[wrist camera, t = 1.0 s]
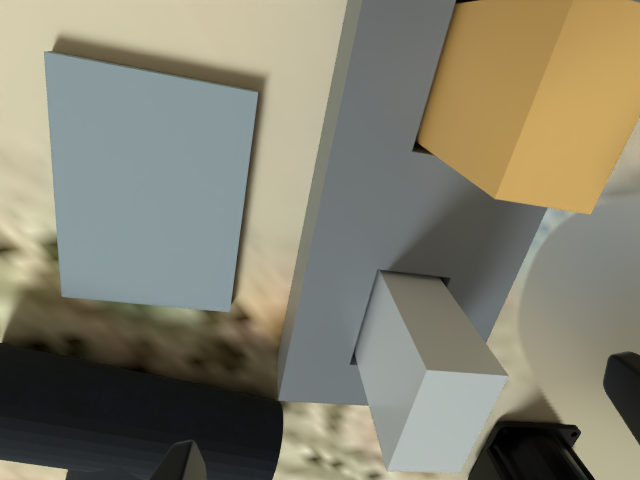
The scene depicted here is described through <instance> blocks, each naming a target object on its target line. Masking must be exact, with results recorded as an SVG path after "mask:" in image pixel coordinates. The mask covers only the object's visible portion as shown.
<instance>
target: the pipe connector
mask: <svg viewBox="0 0 640 480" xmlns="http://www.w3.org/2000/svg"><path fill="white" fill-rule="evenodd" d="M282 435H283V409H282V405H281V403H280V402H279V401H276V400H271V399H267V398H262V397H257V396H252V395H248V394H243V393H238V392H233V391H228V390H224V389H219V388H214V387H209V386H204V385H200V384H195V383H190V382H185V381H181V380H176V379H171V378H166V377H161V376H157V375H152V374H147V373H142V372H138V371H133V370H128V369H123V368H118V367H114V366H109V365H104V364H99V363H94V362H90V361H85V360H80V359H75V358H71V357H66V356H61V355H56V354H51V353H47V352H42V351H37V350H32V349H27V348H23V347H18V346H13V345H8V344H4V343H0V460H6V461H13V462H20V463H27V464H34V465H41V466H48V467H55V468H62V469H68V472H67V476H66V480H149V479H150V478H151V476H152V475H153V473H154V472H155V470H156V469H157V467H158V466H159V464H160V463H161V461H162V460H163V458H164V457H165V455H166V454H167V452H168V451H169V449H170V448H171V446H172V445H174V444H175V443H177V442H182V441H187V440H193V441H195V443H196V444H197V447H198V449H199V451H200V454H201V456H202V458H203V461H204V463H205V467H206V480H272V479H273V476H274V473H275V470H276V466H277V463H278V458H279V454H280V449H281V443H282Z"/></svg>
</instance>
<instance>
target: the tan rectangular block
mask: <svg viewBox="0 0 640 480" xmlns="http://www.w3.org/2000/svg"><path fill="white" fill-rule="evenodd" d="M639 117H640V3H639V2H635V1H631V0H479V1H472V2H465V3H458V4H455V6H454V9H453V13H452V16H451V19H450V23H449V26H448V30H447V33H446V36H445V40H444V43H443V47H442V50H441V54H440V57H439V60H438V64H437V67H436V71H435V74H434V78H433V81H432V84H431V88H430V91H429V95H428V98H427V102H426V105H425V108H424V112H423V115H422V119H421V122H420V125H419V129H418V132H417V136H416V139H415V141H416V142H417V143H419V144H420V145H421V146H423V147H424V148H425V149H427V150H428V151H430V152H431V153H432V154H434V155H435V156H436V157H438V158H439V159H441V160H442V161H443V162H445V163H446V164H447V165H449V166H450V167H452V168H453V169H454V170H456V171H457V172H458V173H460V174H461V175H463V176H464V177H465V178H467V179H468V180H469V181H471V182H472V183H474V184H475V185H476V186H478V187H479V188H480V189H482V190H483V191H485V192H486V193H487V194H489V195H490V196H491V197H493V198H494V199H498V200H504V201H511V202H517V203H523V204H529V205H535V206H542V207H548V208H554V209H560V210H567V211H573V212H579V213H585V214H591V212H592V210H593V208H594V206H595V204H596V202H597V200H598V199H599V197H600V195H601V193H602V191H603V189H604V187H605V185H606V183H607V181H608V179H609V177H610V175H611V173H612V171H613V169H614V167H615V165H616V163H617V161H618V159H619V157H620V155H621V153H622V151H623V149H624V147H625V145H626V143H627V141H628V139H629V137H630V135H631V133H632V131H633V129H634V127H635V125H636V123H637V121H638V119H639Z"/></svg>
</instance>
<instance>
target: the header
mask: <svg viewBox="0 0 640 480" xmlns="http://www.w3.org/2000/svg"><path fill="white" fill-rule="evenodd" d="M472 1H479V0H348V2H347V7H346V12H345V17H344V22H343V27H342V32H341V37H340V42H339V48H338V53H337V58H336V63H335V68H334V73H333V78H332V83H331V88H330V93H329V98H328V103H327V108H326V113H325V118H324V124H323V129H322V134H321V139H320V144H319V149H318V154H317V159H316V164H315V169H314V174H313V179H312V184H311V189H310V194H309V200H308V205H307V210H306V215H305V220H304V225H303V230H302V235H301V240H300V245H299V250H298V255H297V260H296V265H295V270H294V275H293V281H292V286H291V291H290V296H289V301H288V306H287V311H286V316H285V321H284V326H283V331H282V336H281V341H280V346H279V351H278V357H277V381H278V401H292V402H310V403H329V404H348V405H366V406H369V404H368V401H367V397H366V393H365V390H364V386H363V383H362V379H361V375H360V372H359V368H358V364H357V361H356V357H355V353H354V348H355V345H356V341H357V338H358V334H359V331H360V327H361V324H362V321H363V317H364V314H365V310H366V307H367V304H368V300H369V297H370V293H371V290H372V286H373V283H374V280H375V276H376V273H377V269H380V270H389V271H397V272H406V273H414V274H422V275H431V276H439V278H440V279H441V281H442V282H443V284H444V285H445V286H446V288H447V289H448V291H449V292H450V293H451V295H452V296H453V298H454V299H455V301H456V302H457V303H458V305H459V306H460V308H461V309H462V310H463V312H464V313H465V315H466V316H467V318H468V319H469V320H470V322H471V323H472V325H473V326H474V327H475V329H476V330H477V332H478V333H479V335H480V336H481V337H482V339H483V340H484V342H485V343H486V342H487V340H488V337H489V335H490V333H491V331H492V329H493V326H494V324H495V322H496V320H497V318H498V315H499V313H500V311H501V309H502V307H503V304H504V302H505V300H506V298H507V296H508V293H509V291H510V289H511V287H512V285H513V282H514V280H515V278H516V276H517V274H518V271H519V269H520V267H521V265H522V263H523V260H524V258H525V256H526V254H527V252H528V249H529V247H530V245H531V243H532V241H533V238H534V236H535V234H536V232H537V230H538V227H539V225H540V223H541V221H542V219H543V216H544V214H545V212H546V210H547V208H548V207H542V206H535V205H529V204H523V203H517V202H511V201H504V200H498V199H494V198H493V197H491V196H490V195H489V194H487V193H486V192H485V191H483V190H482V189H480V188H479V187H478V186H476V185H475V184H474V183H472V182H471V181H469V180H468V179H467V178H465V177H464V176H463V175H461V174H460V173H458V172H457V171H456V170H454V169H453V168H452V167H450V166H449V165H447V164H446V163H445V162H443V161H442V160H441V159H439V158H438V157H436V156H435V155H434V154H432V153H431V152H430V151H428V150H427V149H425V148H424V147H423V146H421V145H420V144H419V143H417V142H416V141H415V139H416V136H417V132H418V129H419V125H420V122H421V119H422V115H423V112H424V108H425V105H426V102H427V98H428V95H429V91H430V88H431V84H432V81H433V78H434V74H435V71H436V67H437V64H438V60H439V57H440V54H441V50H442V47H443V43H444V40H445V36H446V33H447V30H448V26H449V23H450V19H451V16H452V13H453V9H454V6H455V4H458V3H465V2H472ZM631 1H635V2H639V3H640V0H631Z"/></svg>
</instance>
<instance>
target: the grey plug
mask: <svg viewBox="0 0 640 480" xmlns="http://www.w3.org/2000/svg"><path fill="white" fill-rule="evenodd" d="M354 353H355V357H356V361H357V364H358V368H359V372H360V375H361V379H362V383H363V386H364V390H365V393H366V397H367V401H368V404H369V408H370V412H371V415H372V419H373V423H374V426H375V430H376V433H377V437H378V441H379V444H380V448H381V452H382V455H383V459H384V463H385V466H386V470H387V471H397V472H438V473H460V472H461V470H462V468H463V466H464V464H465V462H466V460H467V458H468V456H469V454H470V452H471V450H472V448H473V446H474V444H475V442H476V440H477V438H478V436H479V434H480V432H481V430H482V428H483V426H484V424H485V422H486V420H487V418H488V416H489V414H490V412H491V410H492V408H493V406H494V404H495V402H496V400H497V398H498V396H499V394H500V392H501V390H502V388H503V386H504V384H505V382H506V380H507V378H508V374H507V373H506V371H505V370H504V369H503V367H502V366H501V364H500V363H499V362H498V360H497V359H496V357H495V356H494V354H493V353H492V352H491V350H490V349H489V347H488V346H487V345H486V343H485V342H484V340H483V339H482V337H481V336H480V335H479V333H478V332H477V330H476V329H475V327H474V326H473V325H472V323H471V322H470V320H469V319H468V318H467V316H466V315H465V313H464V312H463V310H462V309H461V308H460V306H459V305H458V303H457V302H456V301H455V299H454V298H453V296H452V295H451V293H450V292H449V291H448V289H447V288H446V286H445V285H444V284H443V282H442V281H441V279H440V278H439V276H431V275H422V274H414V273H406V272H397V271H389V270H380V269H377V273H376V276H375V280H374V283H373V286H372V290H371V293H370V297H369V300H368V304H367V307H366V310H365V314H364V317H363V321H362V324H361V327H360V331H359V334H358V338H357V341H356V345H355V348H354Z"/></svg>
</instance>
